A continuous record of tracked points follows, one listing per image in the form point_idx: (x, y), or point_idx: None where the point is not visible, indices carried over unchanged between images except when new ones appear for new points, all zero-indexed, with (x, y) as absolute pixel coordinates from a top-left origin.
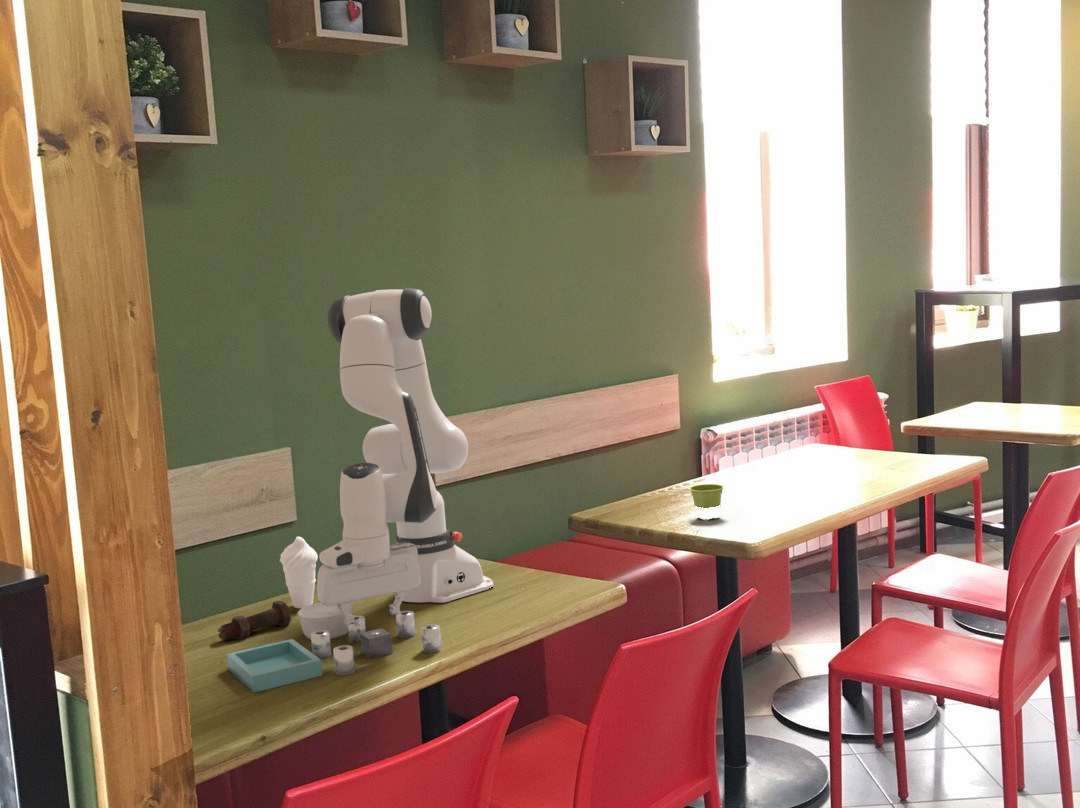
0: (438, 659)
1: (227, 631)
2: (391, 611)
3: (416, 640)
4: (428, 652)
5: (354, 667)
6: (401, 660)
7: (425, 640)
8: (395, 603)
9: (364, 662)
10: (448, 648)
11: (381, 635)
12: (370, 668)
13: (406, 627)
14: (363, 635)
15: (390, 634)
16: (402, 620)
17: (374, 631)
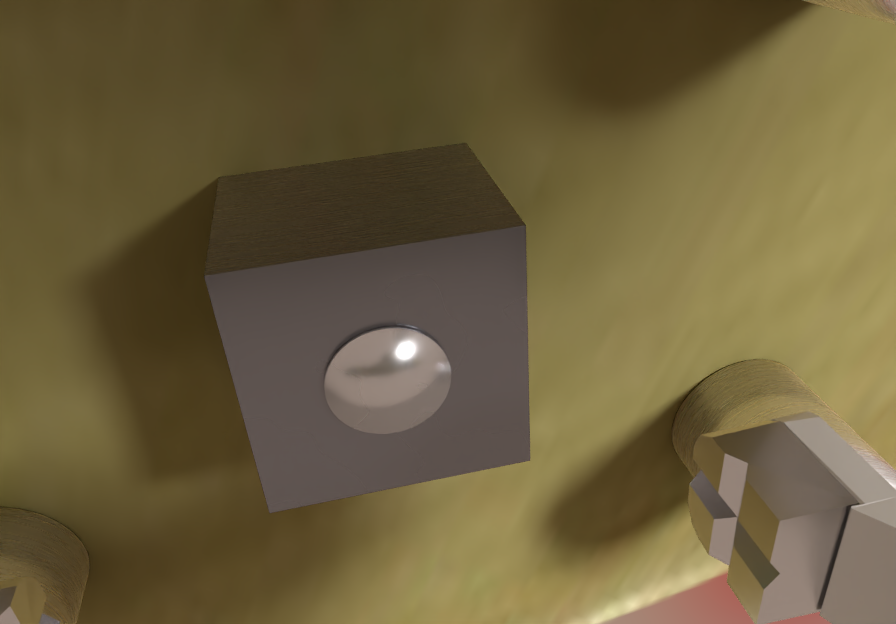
0: (665, 573)
1: None
2: (722, 493)
3: (788, 132)
4: (684, 464)
5: (83, 593)
6: (471, 509)
7: None
8: (861, 583)
9: (197, 439)
10: None
11: (425, 466)
12: (219, 564)
13: (854, 12)
14: (234, 383)
15: (520, 457)
16: (891, 9)
17: (402, 302)
